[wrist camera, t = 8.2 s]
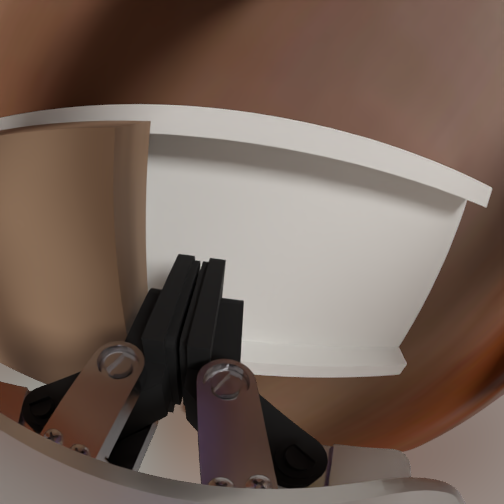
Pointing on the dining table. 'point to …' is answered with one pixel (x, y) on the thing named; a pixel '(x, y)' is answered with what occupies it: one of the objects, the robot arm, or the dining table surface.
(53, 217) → the slab
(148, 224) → the track
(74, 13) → the dining table surface
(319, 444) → the robot arm
